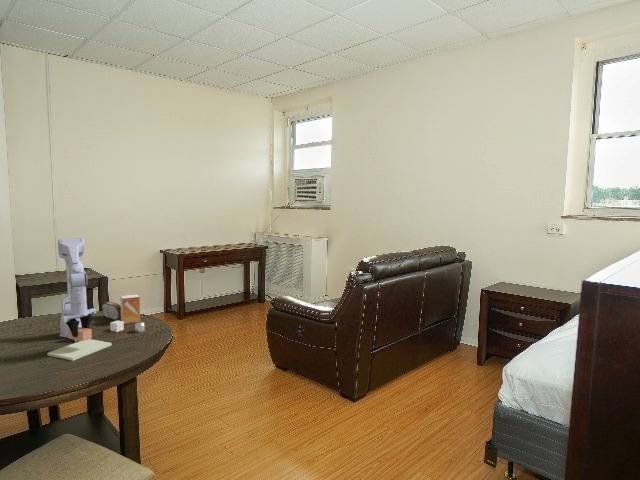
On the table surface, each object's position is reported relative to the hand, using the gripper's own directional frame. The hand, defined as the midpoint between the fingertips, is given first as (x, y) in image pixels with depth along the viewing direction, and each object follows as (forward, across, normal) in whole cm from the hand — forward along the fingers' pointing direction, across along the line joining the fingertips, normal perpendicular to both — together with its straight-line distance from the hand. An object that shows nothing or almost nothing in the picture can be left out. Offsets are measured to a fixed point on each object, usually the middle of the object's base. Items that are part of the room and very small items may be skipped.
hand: (80, 334), depth 169 cm
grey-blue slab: (+4, +8, +12) cm, 15 cm away
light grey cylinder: (+6, +28, -4) cm, 29 cm away
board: (+6, 0, 0) cm, 6 cm away
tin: (+7, +38, +24) cm, 45 cm away
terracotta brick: (+1, 0, 0) cm, 1 cm away
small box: (+7, +38, +12) cm, 40 cm away
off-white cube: (+6, +25, +7) cm, 27 cm away
